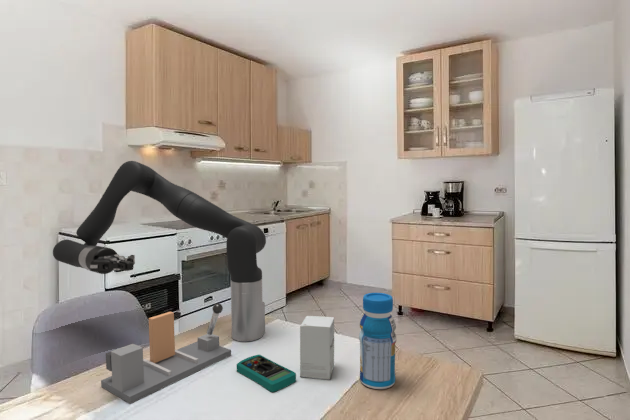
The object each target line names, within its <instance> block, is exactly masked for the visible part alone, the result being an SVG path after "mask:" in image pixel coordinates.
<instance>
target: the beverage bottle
mask: <svg viewBox="0 0 630 420" xmlns="http://www.w3.org/2000/svg"><path fill="white" fill-rule="evenodd" d="M362 309H363V311H364V313H363V315H362V317H361V319H360V322H359V328H360V331H359V334H358V335H359V336H358V339H359V361H360V362H359V381H360V382H361V384H362V385H364V386H365V387H368V388H370V389H374V390H386V389H389V388H391V387H392V386H394V385H395V384H396V343H397V334H396V329H397V326H396V325H397V324H396V321H395V319H394V317H393V316H392V314H391V313H393V310H394V299H393V296H392V295H391V294H388V293H383V292H369V293H365V294H363V298H362Z"/></svg>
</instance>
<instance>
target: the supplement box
mask: <svg viewBox="0 0 630 420" xmlns="http://www.w3.org/2000/svg"><path fill="white" fill-rule="evenodd" d="M299 342H300V343H299V350H300V351H299V366H300V367H299V372H300V373H299V375H300V378H310V379H319V380H330V379H331V376H332V372H333V370H334V367H335V317H334V316H322V315H321V316H318V315H316V316H315V315H306V316H305V317H304V319H303V321H302V323H301V324H300V325H299Z"/></svg>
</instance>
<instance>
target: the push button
mask: <svg viewBox="0 0 630 420" xmlns="http://www.w3.org/2000/svg"><path fill="white" fill-rule="evenodd" d="M105 369H106V370H107V371H109V372H112V366H111V351H108V352H106V353H105Z"/></svg>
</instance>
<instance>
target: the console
mask: <svg viewBox="0 0 630 420" xmlns="http://www.w3.org/2000/svg"><path fill="white" fill-rule="evenodd" d="M110 352H111V366H112V371H111V376H108V377H106V378H103V379H101V380H100V386H101V388H102V389H104V390H106V391H108V392H110V393H111V394H113V395H114V396H116V397H118V398H120V399H121V400H122V401H125V402H127V404H129V405H130V404H132V403H135V402H137V401H139V400H141V399H143V398H145V397H147V396H149V395H151V394H154V393H156V392H159V390H160V391H161V390H162V389H164V388H166V387H168V386H170V385H173V384H174V383H176V382H178V381H180V380H183V379H185V378H187V377H189V376H191V375H194V374H195V373H197V372H199V371H201V370H202V371H203V370H204V369H206V368H208V367H210V366H212V365H213V364H214V365H215V364H216V363H218V362H220V361H223V360H225V359H227V358H229V357H230V356H232V350H231V349H230V348H226V347H224V346H221V345H220V336H219V335H217V334H214V333H213V334H212V335H208V334H207V333H206V334H203V335H201V336H198V337H197V341H196V342H193V343H190V344H187V345H186V346H183V347H180V348H178V349H175V355H173V356H171V357H168V358H166V359H163V360H161V361H159V362H156V363H153V362H151V361H150V360H148V359H146V358H144V349H143V347H142V346H140V345H138V344H135V343H131V344H127V345H125V346H122V347H119V348H117V349H114V350H111V351H110Z"/></svg>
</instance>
